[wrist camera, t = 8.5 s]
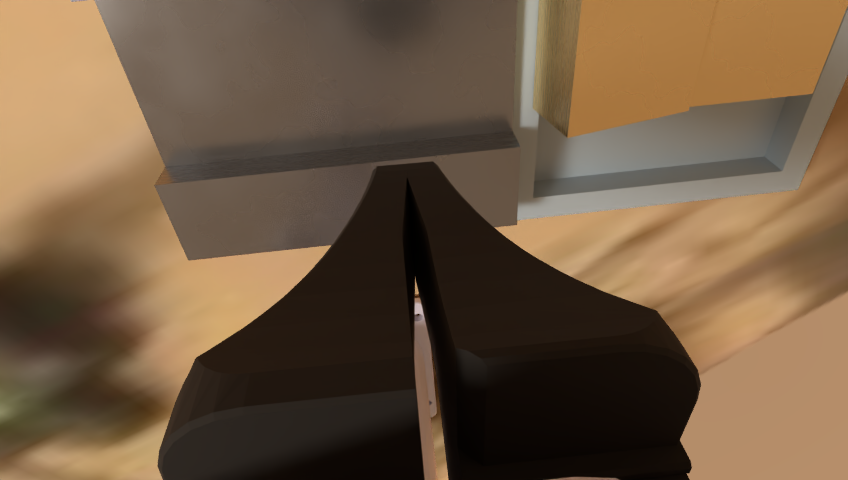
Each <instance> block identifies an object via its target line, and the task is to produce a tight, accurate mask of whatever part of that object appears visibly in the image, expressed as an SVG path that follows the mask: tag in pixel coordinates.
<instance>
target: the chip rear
mask: <svg viewBox="0 0 848 480" xmlns="http://www.w3.org/2000/svg"><path fill="white" fill-rule="evenodd" d="M847 6H848V0H716V4H715V8H714V12H713V16H712V20H711V24H710V28H709V32H708V36H707V40H706V43H705V47H704V51H703V55H702V59H701V63H700V67H699V71H698V75H697V79H696V83H695V87H694V91H693V95H692V99H691V103H690V107H694V106H703V105H713V104H722V103H732V102H741V101H750V100H760V99H769V98H778V97H788V96H797V95H806V94H813V92H814V89H815V86H816V84H817V81H818V79H819V76H820V74H821V71H822V69H823V66H824V64H825V61H826V59H827V56H828V54H829V51H830V49H831V46H832V44H833V41H834V39H835V36H836V34H837V31H838V29H839V26H840V24H841V21H842V19H843V16H844V14H845V11H846V9H847Z"/></svg>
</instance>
